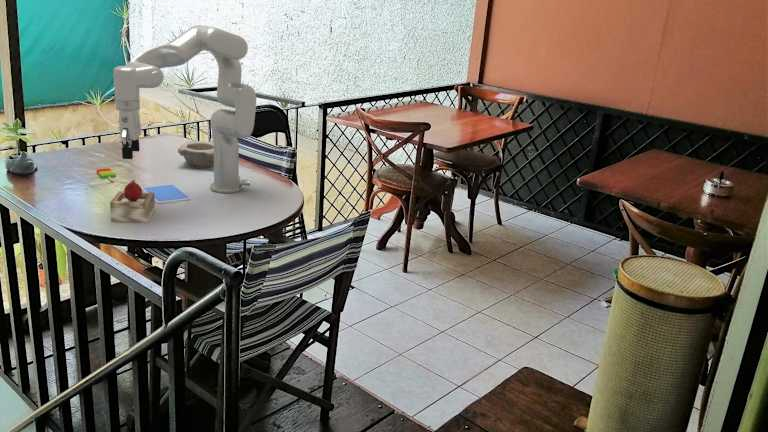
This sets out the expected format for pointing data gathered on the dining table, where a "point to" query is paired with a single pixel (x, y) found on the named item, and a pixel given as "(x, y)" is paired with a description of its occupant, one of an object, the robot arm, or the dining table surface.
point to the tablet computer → (167, 194)
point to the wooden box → (132, 208)
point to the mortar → (198, 153)
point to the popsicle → (106, 174)
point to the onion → (133, 191)
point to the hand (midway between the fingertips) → (131, 154)
